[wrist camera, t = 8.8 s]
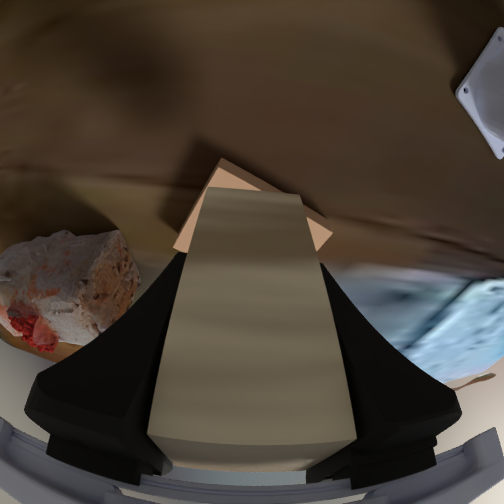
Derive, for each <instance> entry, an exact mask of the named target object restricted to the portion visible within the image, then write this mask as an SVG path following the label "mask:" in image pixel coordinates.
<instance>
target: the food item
mask: <svg viewBox="0 0 504 504" xmlns="http://www.w3.org/2000/svg"><path fill="white" fill-rule="evenodd" d="M138 271H139V270H138V267H137V265H136V263H135V262H134V260H133V258H132V256H131V254H130V252H129V249H128V247H127V245H126V242H125V240H124V238H123V236H122V234H121V232H120V231H119V230H115V231H110V232H105V233H100V234H97V235H80V236H75V235H74V234H72V233H71V232H69V231H68V230H61V231H59V232H56V233H53V234H52V235H51V236H50V237H40V236H37V237H36V238H35V239H33V240H32V241H27V242H21V243H17V244H13V245H12V246H10V247H8V248H6V250H5V251H4V252H3V253H2V254H0V323H1V324H2V325H3V326H4V327H5V328H6V329H7V330H8V331H10V332H11V333H12V334H13V335H14V336H22V340H23V341H24V340H25V341H26V342H28V344H29V345H30V346H31V347H33V346H34V347H37V348H38V349H39V351H40V352H42V351H43V350H44V351H45V352H46V351H48V352H51V353H53V351H54V348H55V347H56V346H57V343H58V342H67V343H71V344H78V345H86V344H88V343H89V342H91V341H92V340H93V339H95V338H96V337H97V336H99V335H100V334H101V333H102V332H104V331H105V330H106V329H107V328H108V327H110V326H111V325H112V324H113V323H114V322H115V321H117V320H118V319H119V318H120V317H121V316H122V315H123V314H124V313H125V312H126V311H127V310H128V309H129V308H130V306H131V304H132V302H133V298H134V294H135V292H136V290H139V289H140V285H141V279H140V275H139V273H138Z"/></svg>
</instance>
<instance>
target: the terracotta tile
mask: <svg viewBox="0 0 504 504" xmlns="http://www.w3.org/2000/svg"><path fill="white" fill-rule="evenodd" d="M207 187H220V188H234V189H246V190H258V191H268V192H278V193H283V192H282V191H280V190H278V189H277V188H275V187H273V186H271V185H270V184H268V183H266V182H265V181H263V180H261V179H259V178H258V177H256V176H254V175H252V174H250V173H249V172H247V171H245V170H243V169H241V168H240V167H238V166H236V165H234V164H232V163H231V162H229V161H227V160H225V159H223V158H221V159H220V160H219V162H218V164H217V165H216V167H215V169H214V170H213V172H212V174H211V176H210V177H209V179H208V181H207V182H206V184H205V186H204V188H203V189H202V191H201V193H200V195H199V196H198V198H197V200H196V202H195V203H194V205H193V207H192V209H191V211H190V212H189V214H188V216H187V218H186V220H185V222H184V223H183V225H182V227H181V229H180V231H179V233H178V235H177V238H176V241H175V243H174V246H173V248H175V249H177V250H179V251H182V252H185V253H188V249H189V246H190V242H191V239H192V235H193V232H194V229H195V225H196V222H197V218H198V215H199V212H200V209H201V205H202V202H203V199H204V196H205V193H206V189H207ZM303 207H304V211H305V214H306V217H307V221H308V224H309V228H310V231H311V234H312V238H313V242H314V245H315V249H316V251H317V250H318V249H319V248H320V247H321V246H322V245H323V244H324V242H325V241H326V240H327V239H328V238H329V237H330V236H331V235H332V233H333V232H332V229H331V227H330V224H329V222H328V220H327V219H326V218H324V217H323V216H321V215H320V214H318V213H316V212H315V211H313V210H312V209H310V208H308V207H307V206H305V205H303Z"/></svg>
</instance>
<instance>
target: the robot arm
mask: <svg viewBox="0 0 504 504" xmlns="http://www.w3.org/2000/svg"><path fill="white" fill-rule="evenodd" d="M498 38H499V40H498ZM464 88H465V92H464ZM455 94H456V97H457V99H458V100H459V101H460V103H461V104H462V105H463V107H464V108H465V110H466V111H467V112H468V114H469V115H470V117H471V118H472V119H473V121H474V122H475V124H476V125H477V127H478V128H479V130H480V131H481V133H482V134H483V136H484V138H485V139H486V141H487V142H488V144H489V146H490V147H491V149H492V151H493V152H494V154H495V156H496V157H497V158H498V159H502V158H503V156H504V28H503V27H498V28H497V30H496V31H495V33H494V35H493V36H492V38H491V39H490V41H489V43H488V44H487V46H486V47H485V49H484V50H483V52H482V53H481V55H480V56H479V58H478V59H477V61H476V62H475V64H474V65H473V67H472V68H471V70H470V71H469V72H468V74H467V75H466V77H465V78H464V80H463V81H462V82H461V84H460V85H459V87H458V88H457V90H456V93H455ZM502 148H503V149H502ZM186 256H187V253H185V252H178V253H177V254H176V255H175V256H174V258H173V259H172V260H171V262H170V263H169V264H168V266H167V267H166V268H165V269H164V271H163V272H162V273H161V274H160V276H159V277H158V278H157V279H156V280H155V281H154V283H153V284H152V285H151V286H150V287H149V288H148V289H147V291H146V292H145V293H144V294H143V295H142V296H141V297H140V298H139V299H138V300H137V301H136V302H135V303H134V304H133V305H132V306H131V307H130V308H129V309H128V310H127V311H126V312H125V313H124V314H123V315H122V316H121V317H120V318H119V319H118V320H117V321H115V322H114V323H113V324H112V325H111V326H110V327H108V328H107V329H106V330H105V331H104V332H102V333H101V334H100V335H99V336H97V337H96V338H95V339H93V340H92V341H91V342H89V343H88V344H86V345H85V346H83V347H82V348H81V349H79V350H78V351H76V352H75V353H73V354H72V355H70V356H69V357H67V358H65V359H64V360H62V361H60V362H58V363H56V364H55V365H53V366H51V367H49V368H47V369H46V370H44V371H42V372H40V373H38V374H37V376H36V378H35V381H34V383H33V385H32V388H31V391H30V394H29V396H28V399H27V402H26V405H25V408H24V411H25V414H26V415H27V416H28V417H29V418H30V419H31V420H32V421H34V422H35V423H36V424H37V425H39V426H40V427H41V428H43V429H44V430H45V431H47V432H48V433H49V434H50V438H49V442H48V443H45V442H43V441H41V440H38V439H37V438H35V437H32V436H30V435H28V434H26V433H24V432H22V431H20V430H18V429H16V428H14V427H13V426H12V425H11V424H10V423H9V422H7V421H6V420H5V419H3V418H2V417H0V488H1V489H2V490H4V491H5V492H6V493H8V494H9V495H10V496H12V497H13V498H14V499H16V500H17V501H18V502H20V503H21V504H159V503H155V502H151V501H146V500H142V499H137V498H133V497H129V496H125V495H123V494H122V492H121V490H120V489H119V488H118V487H120V488H124V489H127V490H131V491H136V492H140V493H144V494H149V495H154V496H159V497H165V498H170V499H177V500H184V501H191V502H200V503H211V504H296V503H307V502H315V501H323V500H330V499H336V498H342V497H347V496H353V495H358V494H363V493H367V492H368V493H367V494H366V495H365V497H364V498H363V499H362V500H358V501H354V502H349V503H344V504H469V503H471V502H472V501H473V500H475V499H476V498H477V497H479V496H480V495H481V494H483V493H484V492H486V491H487V490H489V489H490V488H492V487H493V486H494V485H496V484H497V483H499V482H500V481H501V480H503V479H504V456H503V452H502V448H501V445H500V441H499V438H498V434H497V431H496V428H495V427H493V428H491V429H489V430H487V431H485V432H483V433H481V434H479V435H477V436H475V437H473V438H472V439H470V440H468V441H467V442H465V443H464V444H463V445H460V446H458V447H456V448H453V449H451V450H448V451H446V452H443V453H440V454H438V455H435V453H434V449H433V447H435V446H436V445H437V439H436V436H437V435H438V434H440V433H441V432H443V431H444V430H446V429H447V428H448V427H450V426H452V425H453V424H454V423H455V422H457V421H458V420H459V419H460V417H461V415H462V411H461V408H460V405H459V402H458V399H457V396H456V393H455V391H454V390H452V389H451V388H449V387H447V386H446V385H444V384H442V383H441V382H439V381H438V380H436V379H434V378H433V377H431V376H430V375H428V374H427V373H426V372H424V371H423V370H421V369H420V368H419V367H417V366H416V365H415V364H413V363H412V362H411V361H409V360H408V359H407V358H406V357H405V356H404V355H402V354H401V353H400V352H399V351H398V350H396V349H395V348H394V347H393V346H392V345H391V344H390V343H389V342H388V341H387V340H386V339H385V338H384V337H383V336H382V335H381V334H380V333H379V332H378V331H377V330H376V329H375V328H374V327H373V326H372V325H371V324H370V323H369V322H368V321H367V320H366V318H365V317H364V316H363V315H362V314H361V313H360V312H359V310H358V309H357V308H356V307H355V306H354V304H353V303H352V302H351V301H350V299H349V298H348V297H347V295H346V294H345V293H344V292H343V290H342V289H341V288H340V286H339V285H338V284H337V282H336V281H335V280H334V278H333V277H332V276H331V274H330V273H329V272H328V270H327V269H326V268H325V266H324V265H323V264H322V263H320V267H321V271H322V275H323V279H324V282H325V286H326V290H327V294H328V298H329V302H330V306H331V311H332V315H333V319H334V323H335V328H336V332H337V336H338V341H339V346H340V350H341V355H342V360H343V364H344V369H345V374H346V379H347V385H348V390H349V395H350V401H351V406H352V412H353V418H354V424H355V430H356V436H357V439H356V440H354V441H353V442H351V443H350V444H348V445H347V446H345V447H344V448H342V449H340V450H339V451H337V452H336V453H334V454H333V455H331V456H329V457H328V458H326V459H324V460H323V461H321V462H319V463H317V464H316V465H314V466H312V467H310V468H309V469H307V470H306V484H298V485H283V486H231V485H215V484H204V483H193V482H186V481H179V480H172V479H166V478H161V477H155V476H153V474H154V475H159V476H162V475H165V474H167V473H169V472H170V471H171V470H172V462H171V461H170V459H169V458H168V457H167V456H166V455H165V454H164V453H163V452H162V451H161V450H160V448H159V447H158V446H157V445H156V444H155V443H154V442H153V440H152V439H151V438H150V437H149V436H148V435H147V431H148V425H149V419H150V413H151V408H152V402H153V397H154V392H155V387H156V382H157V377H158V372H159V367H160V362H161V358H162V353H163V348H164V344H165V339H166V335H167V331H168V327H169V322H170V318H171V314H172V310H173V306H174V302H175V298H176V294H177V290H178V286H179V282H180V279H181V275H182V271H183V267H184V264H185V260H186Z"/></svg>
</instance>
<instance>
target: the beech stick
mask: <svg viewBox="0 0 504 504" xmlns="http://www.w3.org/2000/svg"><path fill="white" fill-rule="evenodd" d="M147 435H148V436H149V437H150V438H151V439H152V440H153V442H154V443H155V444H156V445H157V446H158V447H159V448H160V450H161V451H162V452H163V453H164V454H165V455H166V456H167V457H168V458H169V459H170V461H171V462H172V463H173V464H174V465H175V466H180V467H187V468H197V469H205V470H217V471H235V472H285V471H302V470H307V469H309V468H310V467H312V466H314V465H316V464H317V463H319V462H321V461H323V460H324V459H326V458H328V457H329V456H331V455H333V454H334V453H336V452H337V451H339V450H340V449H342V448H344V447H345V446H347V445H348V444H350V443H351V442H353V441H354V440H356V439H357V436H356V430H355V424H354V418H353V412H352V406H351V401H350V395H349V390H348V385H347V379H346V374H345V369H344V364H343V360H342V355H341V350H340V346H339V341H338V336H337V332H336V328H335V323H334V319H333V315H332V311H331V306H330V302H329V298H328V294H327V290H326V286H325V282H324V279H323V275H322V271H321V267H320V263H319V260H318V256H317V252H316V249H315V245H314V242H313V238H312V234H311V231H310V228H309V224H308V221H307V217H306V214H305V211H304V207H303V204H302V201H301V197H300V195H297V194H288V193H278V192H268V191H258V190H246V189H234V188H220V187H207V189H206V193H205V196H204V199H203V202H202V205H201V209H200V212H199V215H198V218H197V222H196V225H195V229H194V232H193V235H192V239H191V242H190V246H189V249H188V253H187V256H186V260H185V264H184V267H183V271H182V275H181V279H180V282H179V286H178V290H177V294H176V298H175V302H174V306H173V310H172V314H171V318H170V322H169V327H168V331H167V335H166V339H165V344H164V348H163V353H162V358H161V362H160V367H159V372H158V377H157V382H156V387H155V392H154V397H153V402H152V408H151V413H150V419H149V425H148V431H147Z"/></svg>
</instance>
